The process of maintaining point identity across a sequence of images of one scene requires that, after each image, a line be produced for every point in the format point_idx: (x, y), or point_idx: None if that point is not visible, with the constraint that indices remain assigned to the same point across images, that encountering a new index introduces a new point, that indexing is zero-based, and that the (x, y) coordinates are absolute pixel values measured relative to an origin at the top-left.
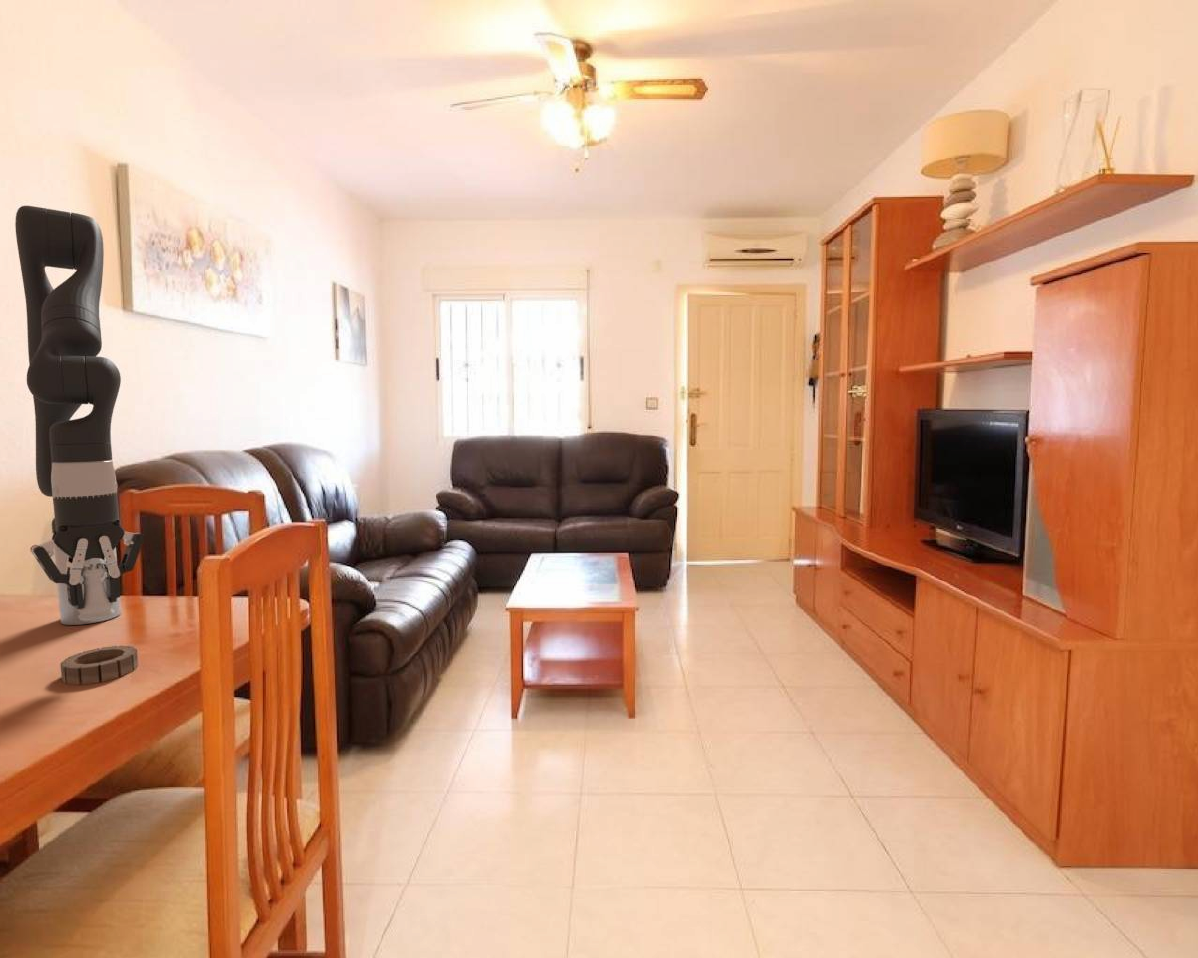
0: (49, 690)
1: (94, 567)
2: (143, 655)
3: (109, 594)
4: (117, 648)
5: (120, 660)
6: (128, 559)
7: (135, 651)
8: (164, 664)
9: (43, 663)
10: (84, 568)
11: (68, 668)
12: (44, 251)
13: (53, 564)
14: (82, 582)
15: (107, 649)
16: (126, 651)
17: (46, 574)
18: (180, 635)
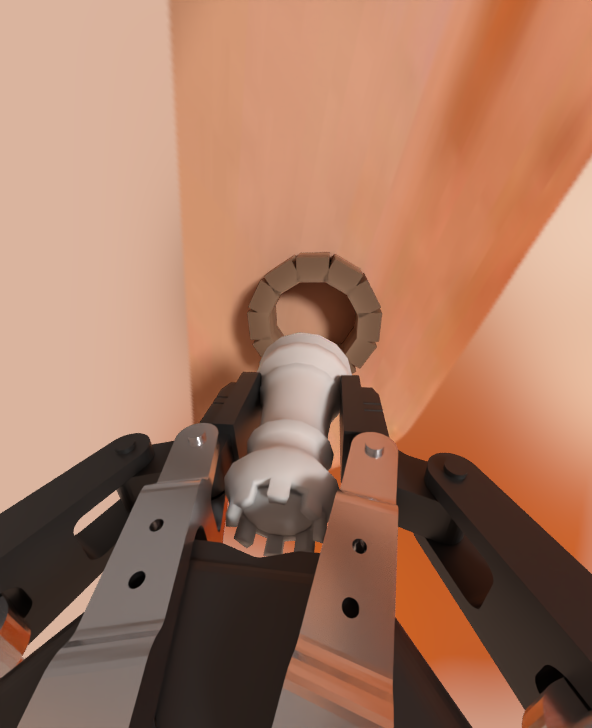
0: (235, 338)
1: (277, 551)
2: (408, 273)
3: (340, 421)
4: (355, 299)
5: None
6: (452, 586)
7: (370, 353)
8: (404, 365)
9: (238, 122)
10: (236, 530)
11: (256, 349)
12: None
13: (82, 584)
14: (248, 449)
15: (338, 287)
16: (359, 338)
17: (85, 463)
18: (562, 160)
